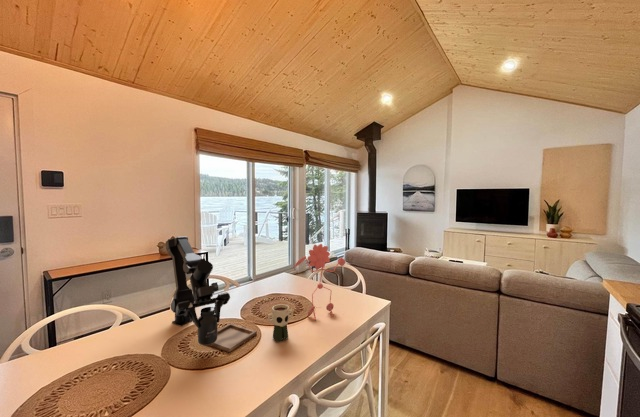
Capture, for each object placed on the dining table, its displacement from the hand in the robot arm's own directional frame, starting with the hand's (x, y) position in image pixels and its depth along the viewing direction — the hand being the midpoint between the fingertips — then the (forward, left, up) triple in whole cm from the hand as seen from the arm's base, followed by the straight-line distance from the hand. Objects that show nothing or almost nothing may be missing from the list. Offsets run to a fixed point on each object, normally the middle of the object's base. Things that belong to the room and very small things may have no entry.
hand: (208, 324), depth 102 cm
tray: (-2, +12, -11) cm, 17 cm away
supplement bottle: (-1, +1, -7) cm, 7 cm away
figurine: (+18, +51, -11) cm, 55 cm away
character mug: (+16, +22, -11) cm, 30 cm away
